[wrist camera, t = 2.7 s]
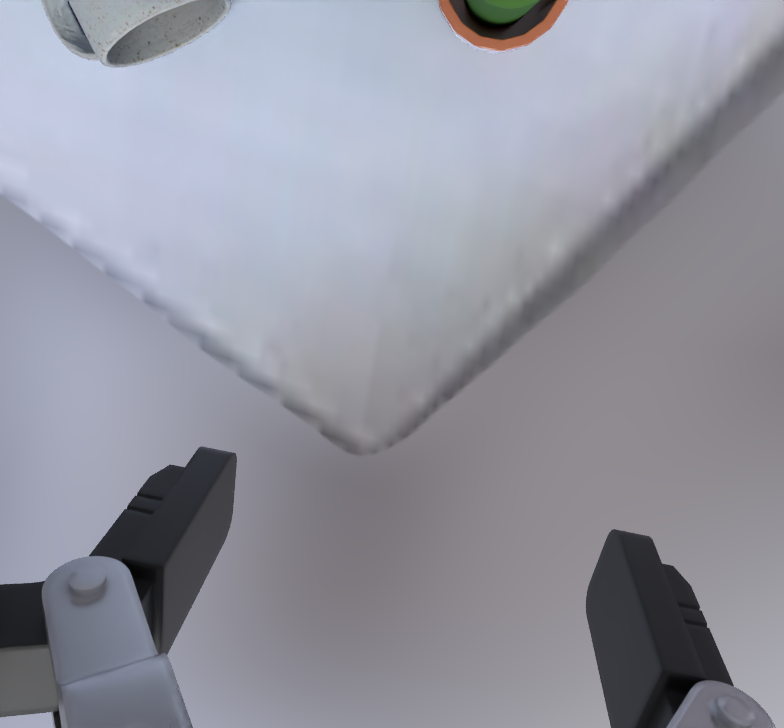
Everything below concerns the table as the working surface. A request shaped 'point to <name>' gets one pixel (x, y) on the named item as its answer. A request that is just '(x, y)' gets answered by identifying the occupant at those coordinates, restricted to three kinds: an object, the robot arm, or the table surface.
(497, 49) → the cup
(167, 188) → the table surface
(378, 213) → the table surface
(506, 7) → the cucumber
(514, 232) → the table surface
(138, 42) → the ceramic mug
